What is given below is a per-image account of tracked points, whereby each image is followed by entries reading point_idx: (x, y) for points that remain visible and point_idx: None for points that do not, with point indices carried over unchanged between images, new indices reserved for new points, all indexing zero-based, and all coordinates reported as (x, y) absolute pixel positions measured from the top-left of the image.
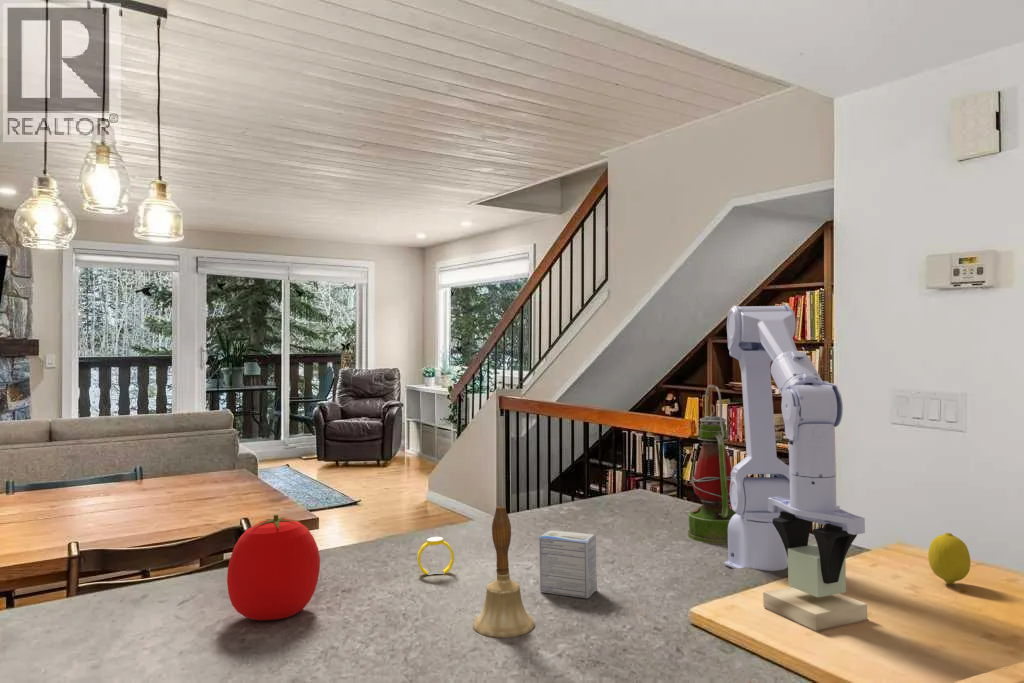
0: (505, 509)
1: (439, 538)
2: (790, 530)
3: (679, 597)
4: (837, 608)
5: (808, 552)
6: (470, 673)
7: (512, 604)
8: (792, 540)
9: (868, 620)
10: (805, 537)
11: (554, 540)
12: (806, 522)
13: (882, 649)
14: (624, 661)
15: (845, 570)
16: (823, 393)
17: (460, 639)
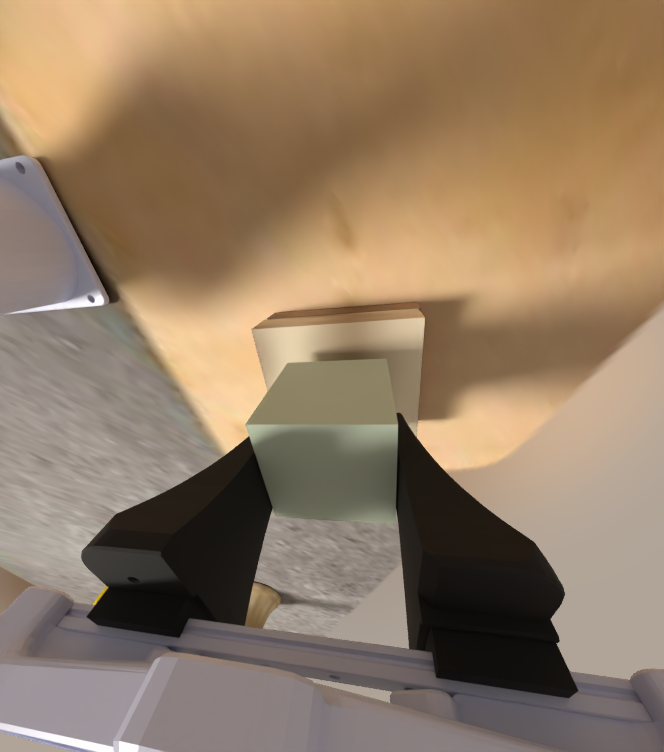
0: None
1: None
2: (247, 575)
3: (198, 465)
4: (412, 401)
5: (330, 502)
6: (334, 626)
7: (261, 626)
8: (260, 527)
9: (420, 308)
10: (240, 486)
11: None
12: (202, 551)
13: (490, 350)
14: (356, 574)
15: (390, 388)
16: None
17: (276, 614)
